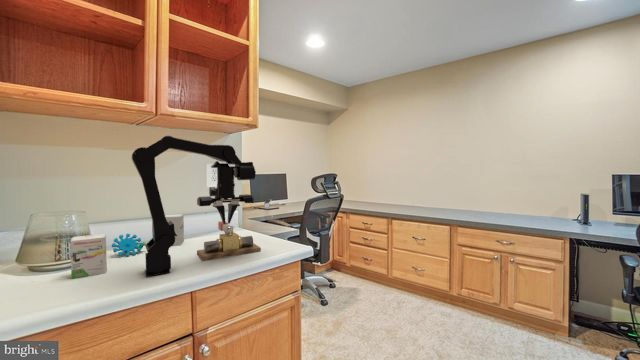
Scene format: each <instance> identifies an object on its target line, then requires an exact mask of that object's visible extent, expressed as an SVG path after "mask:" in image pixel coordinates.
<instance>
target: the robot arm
mask: <svg viewBox="0 0 640 360" xmlns="http://www.w3.org/2000/svg"><path fill="white" fill-rule="evenodd" d="M170 149H171V150H175V151H179V152H184V153H185V152H187V153H191V154H197V155H201V156H202V155H203V156H205V157H209V158H211V159H212V160H216V161H214V163H212V165H210V169H216V170H217V171H216V173H217V174H216V175H217V176H216V177H217V179H216V180H217V181H216V187H215V186H209V190H208V191H209V192H208V193H209V196H206V195H205V196H198V197H197V199H196V205H197V206H198V207H210V206H211V205H212V207H214V208H216V210H217V212H218V213H219V216H220V219H221V221H222V222H223V224H225V222H226V212H225V211H226V210H225V209H226V208H225V205H224V204H223V203H225V204H226V203H227V208H228V209H227V211H228V212H227V223H228V225H230V224H231V221H232V219H233V217H234V214H235V212H236V210H237V208H238V207H240V206H241V204H240V203H244V204H253V203H254V201H255V200H254V199H255V198H254V196H253V195H252V194H247V193H246V194H238V195H239V196H236V195H235V186H236V183H235V178H236V179H237V181H254V180H255V178H256V173H257V172H256V169H255V166H254V162H252V161H246V162H242V161H241V159H240V158H239V157H238V155H237V154H236V150H235V148H234V146H233V145H229V144H207V143H203V142H199V141H193V140H187V139H183V138H179V137H174V136H172V135H165V136H163V137H162V138H161V139H159V140H158V141H156V142H154V143H153V144H151V145H148V146H147V147H143V146H142V147H139V148H136V149H135V150H134V151H133V152H132V153H131V161H132V163H133V165H134V167H135V169H136V171H137V173H138V175H139V177H140V179H141V181H142V185H143V190H144V193H145V197H146V202H147V204H148V210H149V213H150V216H151V217H150V218H151V220H152V221H151V222H152V223H151V224H152V225H151V228H152V238H151V239H150V240H149V241H148V242H146V245H145V246H144V247H145V249H146V252H145V253H144V254H145V256H144V257H145V270H144V271H145V272H144V273H145V277H152V276H157V275H159V276H160V275H163V274H168V273H170V272H171V268H172V259H171V254H169V250H170V248H172V247H173V246H172V245H173V244H174V243H175V236H177V235H176V233H175V230H174V224H173V223H172V222H171V221H170V222H167V220H166V217H165V216H166V214H165V210H164V207H163V202H162V198H161V195H160V194H161V193H160V190H159V187H158V183H157V179H156V158H157V157H158V156H160V155H161V154H163V153H165V152H166V151H168V150H170ZM230 165H231V166H230ZM232 165H233V166H232Z"/></svg>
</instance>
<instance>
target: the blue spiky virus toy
mask: <svg viewBox="0 0 640 360" xmlns="http://www.w3.org/2000/svg"><path fill="white" fill-rule="evenodd" d="M130 236H131V233H126V234H125V238H124V235H123V234H120V235H119V236H118V237H116V238H114V239H113V243H112V244H111V248H113V250H112V251H113V253H117V252H118V253H117V255H118V256H119V257H122V256H123V254H125V255H124V257H126V258H127V257H130V252H132V253H131V255H132V256H135V255H137V252H141V251H142V249H143V247H145V245H146V244H147V242H146V241H143V242H141V241H142V238H141V237H138V236H137V235H136V234H132V236H131V237H130ZM137 237H138V238H137ZM119 239H120V240H119ZM116 243H117V244H116Z"/></svg>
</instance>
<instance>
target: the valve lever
mask: <svg viewBox="0 0 640 360" xmlns="http://www.w3.org/2000/svg"><path fill="white" fill-rule="evenodd" d="M217 226H218V227H217V228H218V230H219V231H221V232H223V233H224V234H225V235H231V234H233V233H234V226H233V225H230V224H228V221H225V224H223V222H222V220H221V221H218V223H217Z"/></svg>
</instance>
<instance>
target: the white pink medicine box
mask: <svg viewBox="0 0 640 360" xmlns="http://www.w3.org/2000/svg"><path fill="white" fill-rule="evenodd" d="M107 256H108V255H107V235H106V233H101V234H99V233H98V234H90V235H89V234H88V235H79V236H73V237H71V239H70V266H71V268H70V269H71V279H78V278H79V279H80V278H85V277H89V276H91V277H92V276H97V275H102V274H106V273H107V270H108V262H107V260H108V258H107Z"/></svg>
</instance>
